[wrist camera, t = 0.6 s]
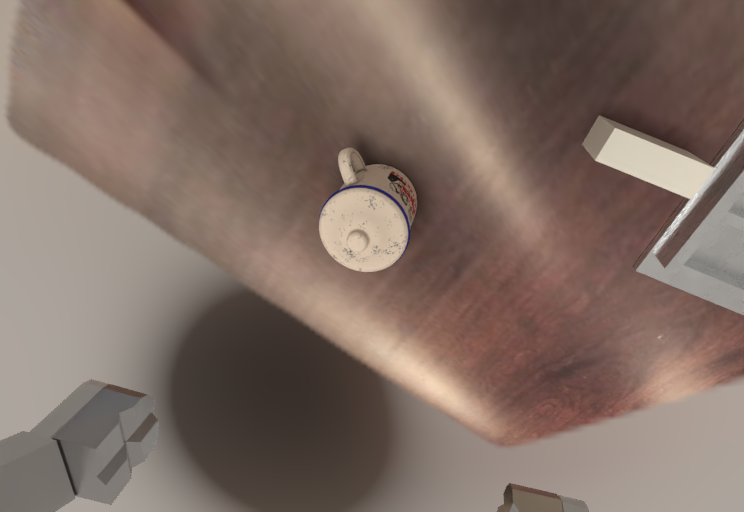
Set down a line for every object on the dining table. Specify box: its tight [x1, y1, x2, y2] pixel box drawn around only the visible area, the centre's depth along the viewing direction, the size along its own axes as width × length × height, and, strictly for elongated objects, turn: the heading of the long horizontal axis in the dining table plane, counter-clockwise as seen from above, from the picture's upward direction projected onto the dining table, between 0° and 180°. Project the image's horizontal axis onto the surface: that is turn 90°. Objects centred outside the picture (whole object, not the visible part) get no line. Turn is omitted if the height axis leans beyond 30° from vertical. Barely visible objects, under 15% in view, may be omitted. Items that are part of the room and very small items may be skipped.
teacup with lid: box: [319, 148, 417, 272], centre depth 47 cm, size 12×9×12 cm
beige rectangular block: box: [582, 115, 715, 200], centre depth 42 cm, size 3×9×6 cm, turn 70°
